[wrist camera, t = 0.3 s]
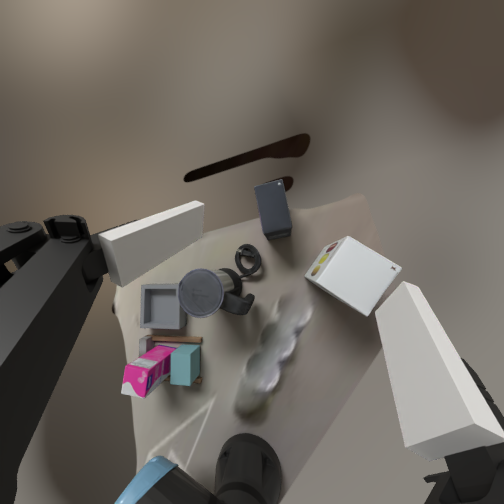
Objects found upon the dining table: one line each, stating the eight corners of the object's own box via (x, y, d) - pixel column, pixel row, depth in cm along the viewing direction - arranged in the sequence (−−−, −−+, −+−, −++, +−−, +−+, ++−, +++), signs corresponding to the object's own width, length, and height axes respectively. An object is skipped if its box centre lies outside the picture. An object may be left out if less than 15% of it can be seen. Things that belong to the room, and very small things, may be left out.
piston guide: (202, 381, 48) (196, 388, 45) (146, 376, 50) (138, 383, 47) (202, 337, 49) (196, 341, 46) (147, 334, 51) (139, 339, 48)
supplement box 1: (175, 370, 49) (143, 400, 38) (155, 365, 50) (119, 394, 39) (178, 347, 49) (147, 371, 38) (158, 343, 50) (123, 365, 39)
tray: (186, 324, 50) (179, 329, 46) (149, 323, 51) (140, 327, 48) (186, 283, 51) (179, 284, 47) (150, 283, 52) (141, 285, 49)
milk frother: (206, 301, 49) (174, 315, 35) (211, 242, 50) (182, 232, 36) (259, 307, 47) (248, 325, 32) (263, 245, 48) (255, 236, 33)
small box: (258, 202, 49) (252, 185, 39) (283, 196, 48) (283, 177, 38) (266, 241, 48) (261, 233, 38) (291, 235, 47) (293, 227, 37)
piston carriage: (199, 373, 48) (190, 385, 43) (181, 372, 48) (170, 384, 43) (199, 345, 48) (190, 354, 43) (182, 344, 49) (170, 353, 44)
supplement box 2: (325, 245, 45) (349, 232, 29) (359, 266, 44) (405, 265, 27) (302, 277, 46) (314, 282, 29) (336, 299, 44) (368, 319, 27)
